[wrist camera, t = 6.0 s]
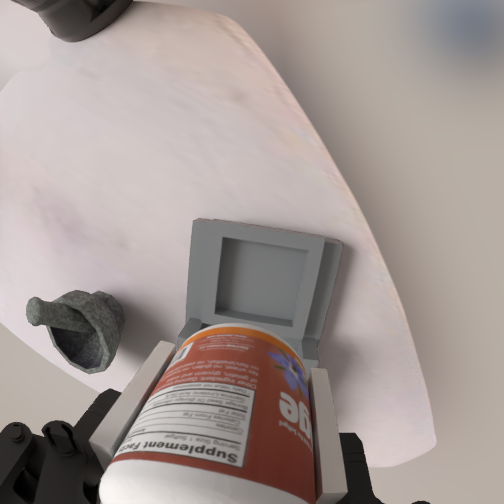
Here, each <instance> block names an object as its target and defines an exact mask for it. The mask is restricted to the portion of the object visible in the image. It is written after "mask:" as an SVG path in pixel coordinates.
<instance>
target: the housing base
mask: <svg viewBox="0 0 504 504" xmlns="http://www.w3.org/2000/svg"><path fill="white" fill-rule="evenodd" d="M342 247H343V244H342V243H341V242H340V241H339V240H335V239H329V238H324V237H323V236H319V235H314V234H308V233H302V232H296V231H290V230H283V229H277V228H271V227H265V226H258V225H252V224H245V223H238V222H232V221H225V220H218V219H214V220H209V219H202V218H198V219H196V220H194V221H193V225H192V235H191V247H190V259H189V272H188V286H187V303H186V324H185V326H184V328H183V329H182V331H181V333H180V334H179V336H178V350H179V349H180V347H181V346H182V344H183V343H184V342H185V341H186V340H187V339H188V338H189V337H191V336H192V335H193V334H195V333H197V332H198V331H200V330H202V329H204V328H207V327H210V326H213V325H218V324H224V323H243V324H250V325H255V326H258V327H261V328H264V329H266V330H269V331H271V332H273V333H275V334H276V335H278V336H280V337H281V338H282V339H284V340H285V341H286V342H288V343H289V344H290V345H291V346H292V347H293V348H294V350H295V351H296V352H297V354H298V355H299V357H300V358H301V360H302V362H303V364H304V367H305V371H306V375H307V378H308V375H309V372H310V369H311V368H317V366H318V363H319V357H318V351H317V347H318V343H319V340H320V336H321V333H322V329H323V326H324V322H325V318H326V315H327V311H328V307H329V303H330V299H331V295H332V291H333V287H334V283H335V279H336V275H337V270H338V266H339V261H340V257H341V252H342Z"/></svg>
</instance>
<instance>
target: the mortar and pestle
mask: <svg viewBox="0 0 504 504" xmlns="http://www.w3.org/2000/svg"><path fill="white" fill-rule="evenodd" d="M26 316H27V319H28V322H29V323H31V324H32V325H33V326H39V325H41V324H42V325H46V327H47V329H48V332H49V335H50V337H51V340H52V343H53V345H54V347H55V348H56V349H57V350H58V351H59V353H60V354H61V355H62V356H63V357H64V358H65V359H66V361H67V362H68V363H69V364H70V365H72V366H74V367H76V368H78V369H80V370H81V371H83V372H85V373H88V374H93V373H98V372H103V371H105V370H106V369H107V368H108V367H109V365H110V364H111V362H112V360H113V359H114V357H115V354H116V351H117V348H118V345H119V342H120V335H121V333H120V332H121V330H122V328H123V325H124V322H125V320H124V316H123V313H122V309H121V306H120V305H119V304H118V303H117V302H116V301H115V300H114V298H113V297H112V296H111V295H109V294H106V293H103V292H101V291H97V292H95V293H93V294H90V293H87V292H84V291H79V290H75V291H72V292H68V293H66V294H65V295H63V296H61V297H59V298H58V299H56V300H54V301H53V302H47V301H43V300H41V299H40V298H38V297H33V298H31V299H30V300H29V301H28V304H27V306H26Z"/></svg>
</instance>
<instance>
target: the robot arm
mask: <svg viewBox="0 0 504 504" xmlns="http://www.w3.org/2000/svg"><path fill="white" fill-rule="evenodd" d="M11 1H13V2H15V3H18V4H20V5H22V6H24V7H26V8H28V9H30V10H33V11H35V12H37V13H38V14H39V16H40V17H41V18H42V20H43V21H44V22H45V24H46V25H47V26H48V27H49V29H50V31H51V33H52V34H53V35H54V36H56V37H58V38H60V39H62V40H64V41H66V42H75V41H80V40H83V39H85V38H87V37H90V36H92V35H93V34H95V33H97V32H98V31H100V30H102V29H103V28H104V27H106V26H107V25H108V24H110V23H111V22H112V21H113V20H115V19H116V18H117V17H118V16H119V15H120V14H121V13H122V12H123V11H124V10H125V9H126V8H127V7H128V6H129V5H130V3H131V2H132V1H133V0H11ZM175 355H176V344H174V343H170V342H166V341H162V340H160V342H159V343H158V345H157V346H156V347H155V349H154V350H153V351H152V353H151V354H150V355H149V357H148V358H147V359H146V361H145V362H144V364H143V365H142V366H141V368H140V369H139V370H138V372H137V373H136V375H135V376H134V377H133V379H132V380H131V381H130V383H129V384H128V386H127V387H126V388H125V390H124V391H123V393H121V392H118V391H116V390H113V389H108V390H106V391H104V392H102V393H101V394H99V396H98V397H97V398H96V399H95V401H94V403H93V404H92V405H91V406H90V407H89V408H88V410H87V411H86V412H85V413H84V415H83V416H82V417H81V418H80V420H79V421H78V422H77V424H76V425H75V426H74V427H72V426H71V425H70V424H69V423H66V422H64V421H58V420H55V421H51V422H49V423H47V424H46V425H44V427H43V428H42V432H43V434H44V436H45V437H43V436H39V435H36V434H33V433H32V432H31V431H30V429H29V428H28V427H27V426H26V425H25V424H23V423H21V422H13V423H10V424H8V425H7V426H6V427H5V428H4V429H3V430H2V432H1V433H0V504H100V502H101V501H100V496H99V487H100V483H101V477H102V475H103V474H104V473H105V472H106V470H107V468H108V466H109V464H110V463H111V461H112V460H113V458H114V456H115V454H116V453H117V451H118V449H119V448H120V446H121V444H122V443H123V441H124V439H125V438H126V436H127V434H128V432H129V431H130V429H131V427H132V426H133V424H134V422H135V421H136V419H137V417H138V416H139V414H140V412H141V411H142V409H143V407H144V406H145V404H146V402H147V401H148V399H149V397H150V395H151V394H152V392H153V391H154V389H155V387H156V386H157V384H158V382H159V380H160V379H161V377H162V376H163V374H164V373H165V371H166V369H167V368H168V366H169V364H170V363H171V361H172V360H173V358H174V356H175ZM307 383H308V393H309V404H310V414H311V428H312V440H313V455H314V474H315V497H316V504H384V503H382V502H381V501H380V500H379V499H378V498H376V497H375V495H374V493H373V491H372V486H371V481H370V476H369V471H368V466H367V463H366V457H365V454H364V449H363V444H362V441H361V440H360V439H359V437H358V436H357V435H356V433H339V431H338V425H337V420H336V414H335V409H334V403H333V398H332V393H331V388H330V382H329V377H328V373H327V369H321V368H311V369H310V372H309V375H308V378H307ZM412 504H430V503H429V502H426V501H417V502H414V503H412Z"/></svg>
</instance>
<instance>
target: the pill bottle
mask: <svg viewBox="0 0 504 504" xmlns="http://www.w3.org/2000/svg"><path fill="white" fill-rule="evenodd" d="M99 496H100V501H101V504H316V497H315V474H314V455H313V440H312V428H311V414H310V404H309V393H308V383H307V375H306V371H305V367H304V364H303V362H302V360H301V358H300V357H299V355H298V354H297V352H296V351H295V350H294V348H293V347H292V346H291V345H290V344H289V343H288V342H286V341H285V340H284V339H282V338H281V337H280V336H278V335H276V334H275V333H273V332H271V331H269V330H266V329H264V328H261V327H258V326H255V325H250V324H243V323H224V324H218V325H213V326H210V327H207V328H204V329H202V330H200V331H198V332H197V333H195V334H193V335H192V336H191V337H189V338H188V339H187V340H186V341H185V342H184V343H183V344H182V346H181V347H180V349H179V350H178V352H177V353H176V355H175V356H174V358H173V360H172V361H171V363H170V364H169V366H168V368H167V369H166V371H165V373H164V374H163V376H162V377H161V379H160V380H159V382H158V384H157V386H156V387H155V389H154V391H153V392H152V394H151V395H150V397H149V399H148V401H147V402H146V404H145V406H144V407H143V409H142V411H141V412H140V414H139V416H138V417H137V419H136V421H135V422H134V424H133V426H132V427H131V429H130V431H129V432H128V434H127V436H126V438H125V439H124V441H123V443H122V444H121V446H120V448H119V449H118V451H117V453H116V454H115V456H114V458H113V460H112V461H111V463H110V464H109V466H108V468H107V470H106V472H105V474H104V476H103V478H102V480H101V483H100V487H99Z"/></svg>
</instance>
